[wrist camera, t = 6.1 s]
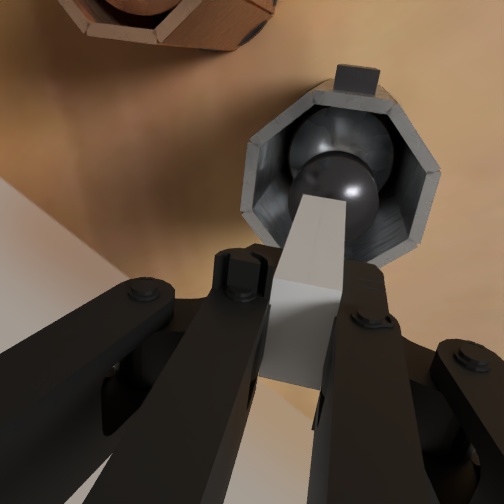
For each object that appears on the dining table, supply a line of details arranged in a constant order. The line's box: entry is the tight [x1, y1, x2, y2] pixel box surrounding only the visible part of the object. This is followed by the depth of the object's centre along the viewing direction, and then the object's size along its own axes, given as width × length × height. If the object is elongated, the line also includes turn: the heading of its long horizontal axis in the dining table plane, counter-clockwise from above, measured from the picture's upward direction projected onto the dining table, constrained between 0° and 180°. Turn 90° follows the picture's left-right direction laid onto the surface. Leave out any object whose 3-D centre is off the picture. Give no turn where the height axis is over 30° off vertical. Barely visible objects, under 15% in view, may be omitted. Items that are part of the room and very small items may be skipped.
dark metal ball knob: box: [288, 107, 393, 244], centre depth 25 cm, size 7×7×11 cm
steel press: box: [240, 64, 441, 268], centre depth 27 cm, size 9×10×14 cm
